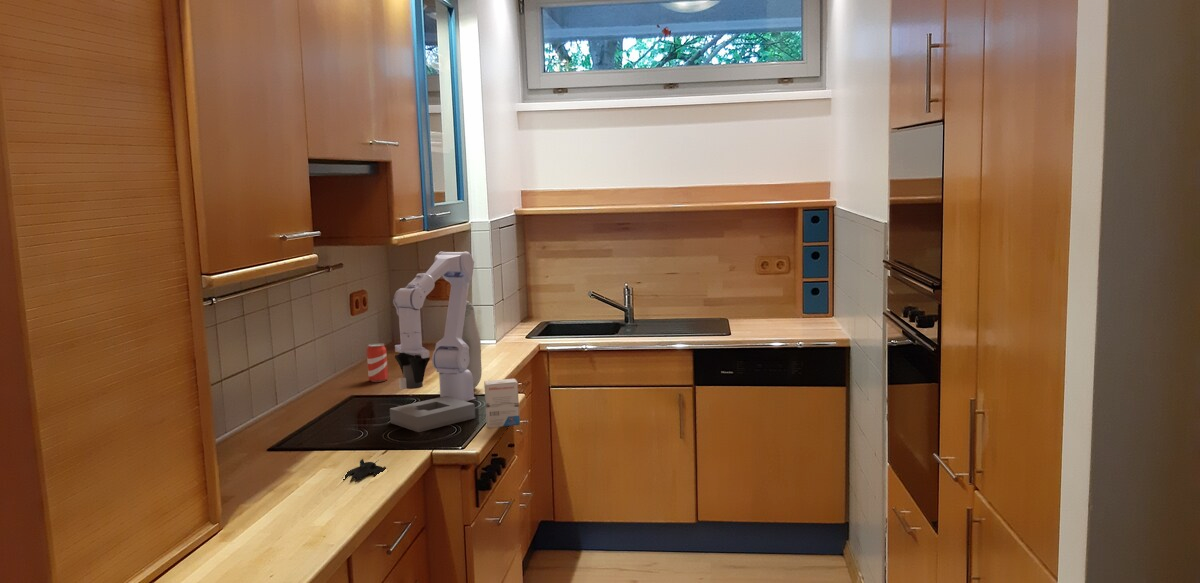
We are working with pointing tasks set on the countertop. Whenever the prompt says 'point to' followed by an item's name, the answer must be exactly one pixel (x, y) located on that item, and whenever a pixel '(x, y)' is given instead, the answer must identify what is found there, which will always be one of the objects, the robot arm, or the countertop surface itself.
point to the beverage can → (377, 362)
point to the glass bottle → (472, 343)
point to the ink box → (501, 403)
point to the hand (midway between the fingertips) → (413, 380)
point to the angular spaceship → (364, 470)
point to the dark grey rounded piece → (408, 379)
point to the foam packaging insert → (432, 413)
